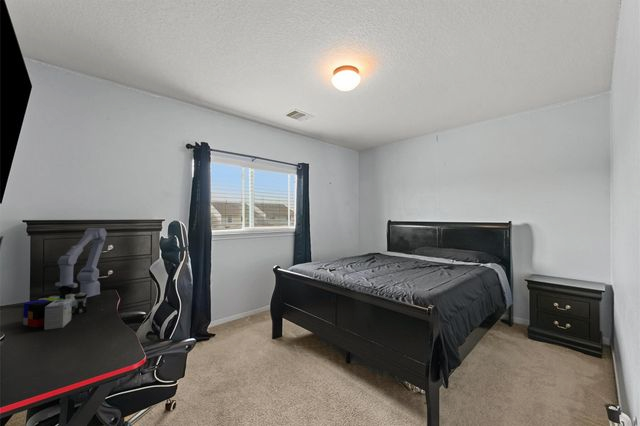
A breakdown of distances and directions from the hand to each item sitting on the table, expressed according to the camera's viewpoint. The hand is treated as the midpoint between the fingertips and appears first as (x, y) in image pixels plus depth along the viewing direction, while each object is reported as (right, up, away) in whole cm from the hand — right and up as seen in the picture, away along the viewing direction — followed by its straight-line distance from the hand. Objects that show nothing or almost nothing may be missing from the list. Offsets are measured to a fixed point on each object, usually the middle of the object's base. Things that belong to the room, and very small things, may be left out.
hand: (65, 298), depth 159 cm
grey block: (+3, -1, -1) cm, 4 cm away
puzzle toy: (+17, -2, -29) cm, 34 cm away
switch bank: (+1, -2, -5) cm, 6 cm away
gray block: (-2, -1, -5) cm, 5 cm away
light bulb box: (+27, -2, -32) cm, 42 cm away
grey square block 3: (-4, -1, -9) cm, 10 cm away
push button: (+22, -3, -16) cm, 27 cm away
